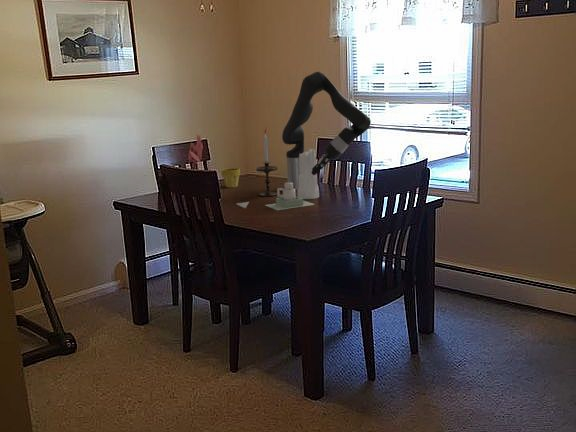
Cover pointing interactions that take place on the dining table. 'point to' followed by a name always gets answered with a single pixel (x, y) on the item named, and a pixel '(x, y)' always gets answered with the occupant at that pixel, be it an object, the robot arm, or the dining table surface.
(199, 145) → the figurine
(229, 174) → the plant pot
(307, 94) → the robot arm
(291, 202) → the tray
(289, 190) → the cream jug
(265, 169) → the candlestick
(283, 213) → the dining table surface
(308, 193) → the decorative vase
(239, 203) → the grey mat
